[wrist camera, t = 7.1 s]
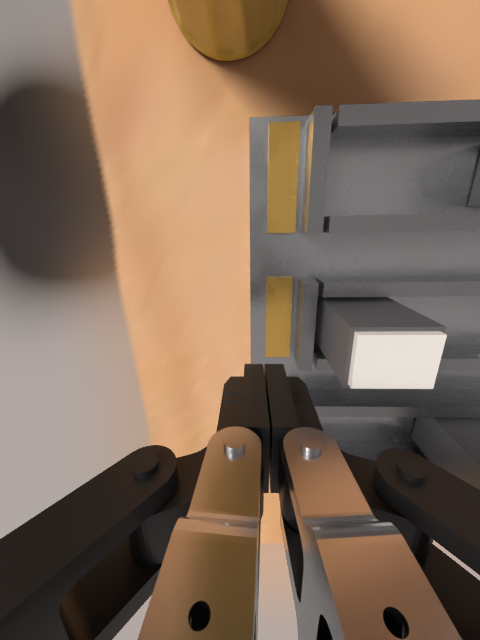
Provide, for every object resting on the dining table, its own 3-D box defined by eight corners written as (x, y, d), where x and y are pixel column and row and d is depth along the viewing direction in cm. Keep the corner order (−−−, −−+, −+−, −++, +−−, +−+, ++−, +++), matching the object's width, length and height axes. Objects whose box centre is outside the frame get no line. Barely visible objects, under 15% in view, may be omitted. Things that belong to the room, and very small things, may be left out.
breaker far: (419, 404, 19) (490, 477, 13) (477, 404, 19) (573, 479, 13) (411, 437, 20) (474, 519, 14) (466, 438, 20) (551, 521, 14)
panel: (249, 127, 15) (249, 99, 12) (619, 115, 14) (729, 81, 11) (251, 436, 22) (251, 472, 19) (497, 438, 22) (542, 477, 18)
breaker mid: (318, 296, 17) (353, 330, 11) (384, 295, 16) (453, 330, 11) (315, 340, 18) (345, 392, 12) (376, 339, 17) (436, 392, 12)
